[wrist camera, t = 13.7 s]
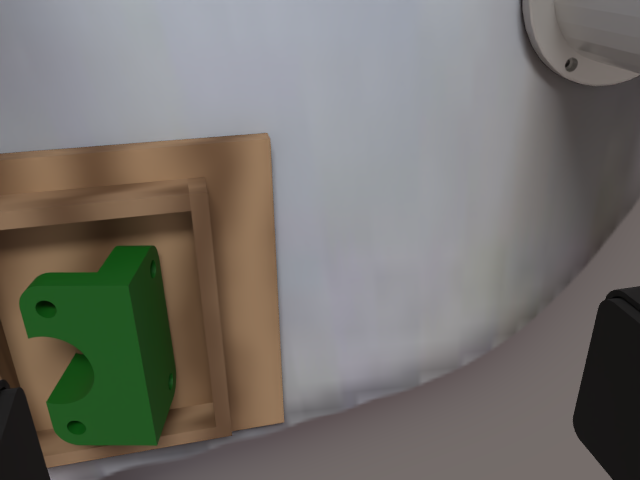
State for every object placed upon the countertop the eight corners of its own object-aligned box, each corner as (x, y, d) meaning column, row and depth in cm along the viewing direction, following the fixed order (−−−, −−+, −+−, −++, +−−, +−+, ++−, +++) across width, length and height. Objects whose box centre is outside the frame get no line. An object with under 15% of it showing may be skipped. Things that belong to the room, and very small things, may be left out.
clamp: (83, 240, 40) (12, 252, 31) (173, 240, 40) (127, 251, 31) (89, 417, 41) (20, 478, 32) (177, 417, 41) (133, 478, 32)
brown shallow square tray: (267, 133, 37) (277, 151, 34) (281, 411, 47) (290, 446, 44) (-142, 164, 33) (-175, 189, 29) (-31, 464, 42) (-46, 507, 39)
